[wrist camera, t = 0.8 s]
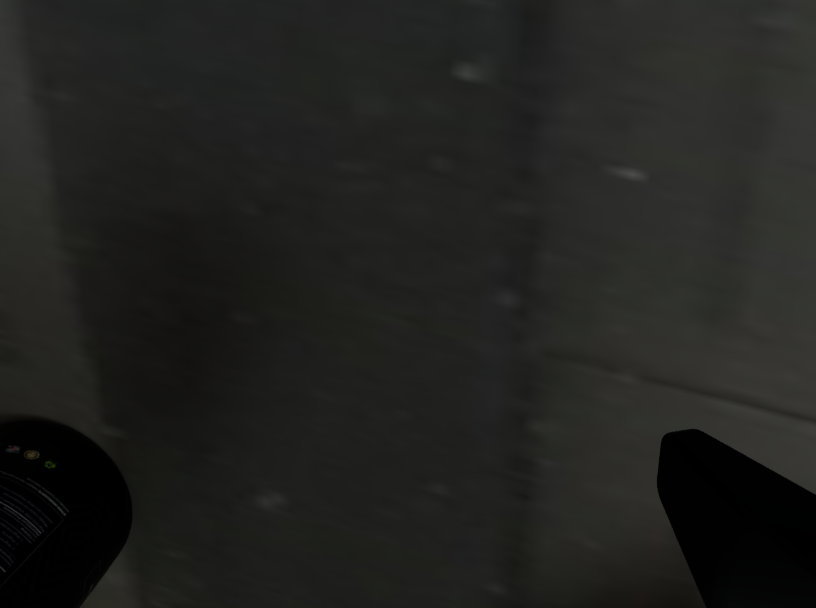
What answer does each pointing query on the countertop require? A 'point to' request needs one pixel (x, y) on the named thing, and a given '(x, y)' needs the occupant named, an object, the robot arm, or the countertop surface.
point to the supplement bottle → (57, 515)
